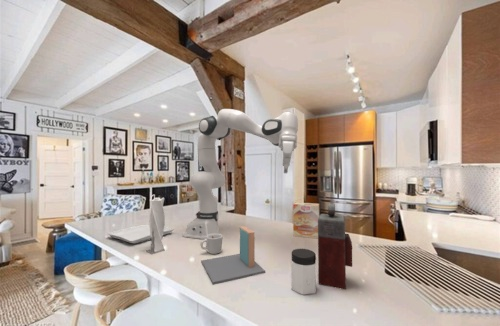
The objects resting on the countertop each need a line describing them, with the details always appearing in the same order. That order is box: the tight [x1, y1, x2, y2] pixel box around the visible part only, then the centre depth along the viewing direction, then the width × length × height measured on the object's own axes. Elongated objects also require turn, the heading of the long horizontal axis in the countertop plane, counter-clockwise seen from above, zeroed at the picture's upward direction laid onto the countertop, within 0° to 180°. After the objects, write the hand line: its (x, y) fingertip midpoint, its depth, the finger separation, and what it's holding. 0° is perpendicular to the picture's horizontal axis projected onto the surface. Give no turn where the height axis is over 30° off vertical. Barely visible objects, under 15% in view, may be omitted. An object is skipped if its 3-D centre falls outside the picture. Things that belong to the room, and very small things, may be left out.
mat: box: [200, 253, 266, 285], centre depth 91 cm, size 20×21×1 cm
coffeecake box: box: [292, 201, 320, 240], centre depth 132 cm, size 15×7×20 cm, turn 70°
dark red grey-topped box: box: [317, 203, 353, 290], centre depth 80 cm, size 9×11×28 cm
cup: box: [200, 233, 224, 255], centre depth 106 cm, size 11×8×8 cm
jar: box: [290, 248, 317, 296], centre depth 75 cm, size 9×8×12 cm
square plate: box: [106, 223, 175, 244], centre depth 133 cm, size 27×27×4 cm
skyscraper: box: [145, 194, 166, 255], centre depth 110 cm, size 8×8×28 cm
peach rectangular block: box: [239, 225, 256, 268], centre depth 94 cm, size 10×3×14 cm, turn 24°
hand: (285, 170), depth 103 cm, fingers open, 8 cm apart
